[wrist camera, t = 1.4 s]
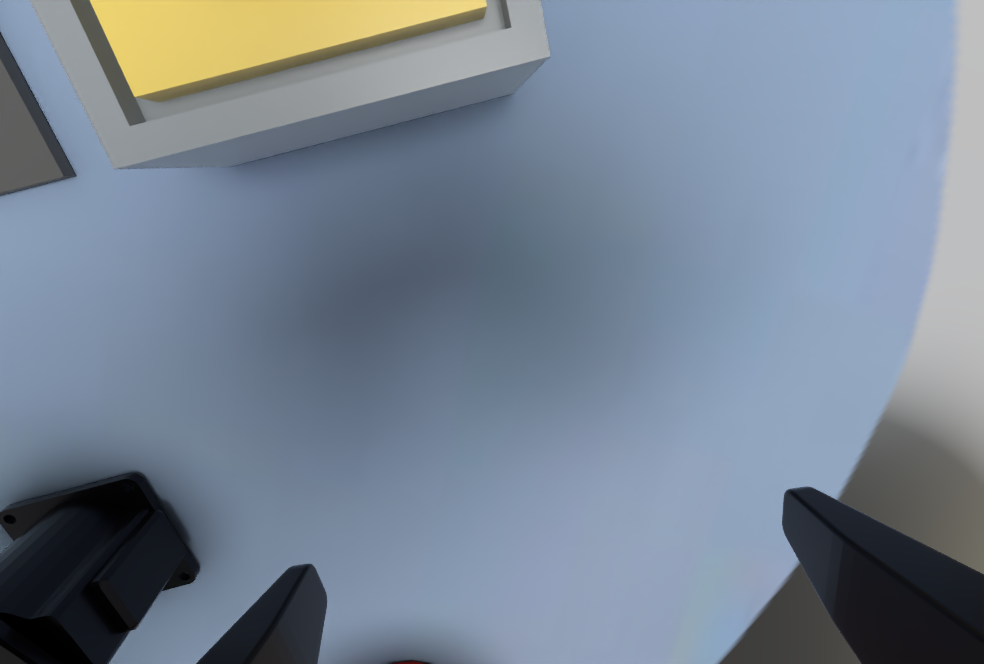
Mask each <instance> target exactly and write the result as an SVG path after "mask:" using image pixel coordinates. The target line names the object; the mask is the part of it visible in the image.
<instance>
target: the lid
mask: <svg viewBox="0 0 984 664" xmlns="http://www.w3.org/2000/svg"><path fill="white" fill-rule="evenodd" d="M90 2H91V5H92V7H93V9H94V11H95V13H96V15H97V17H98V20H99V22H100V24H101V26H102V28H103V30H104V33H105V35H106V37H107V39H108V41H109V43H110V46H111V48H112V50H113V52H114V54H115V56H116V58H117V61H118V63H119V65H120V67H121V69H122V71H123V74H124V76H125V78H126V80H127V82H128V84H129V87H130V89H131V91H132V93H133V95H134V97H136V98H141V99H146V100H150V101H155V102H162V101H166V100H170V99H174V98H177V97H181V96H185V95H189V94H193V93H197V92H201V91H205V90H208V89H212V88H216V87H220V86H224V85H228V84H232V83H236V82H239V81H243V80H247V79H251V78H255V77H259V76H263V75H267V74H270V73H274V72H278V71H282V70H286V69H290V68H294V67H298V66H301V65H305V64H309V63H313V62H317V61H321V60H325V59H329V58H332V57H336V56H340V55H344V54H348V53H352V52H356V51H360V50H363V49H367V48H371V47H375V46H379V45H383V44H387V43H391V42H394V41H398V40H402V39H406V38H410V37H414V36H418V35H422V34H425V33H429V32H433V31H437V30H441V29H445V28H449V27H453V26H456V25H460V24H464V23H468V22H472V21H476V20H480V19H484V16H485V12H486V8H487V3H486V0H90Z"/></svg>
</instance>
